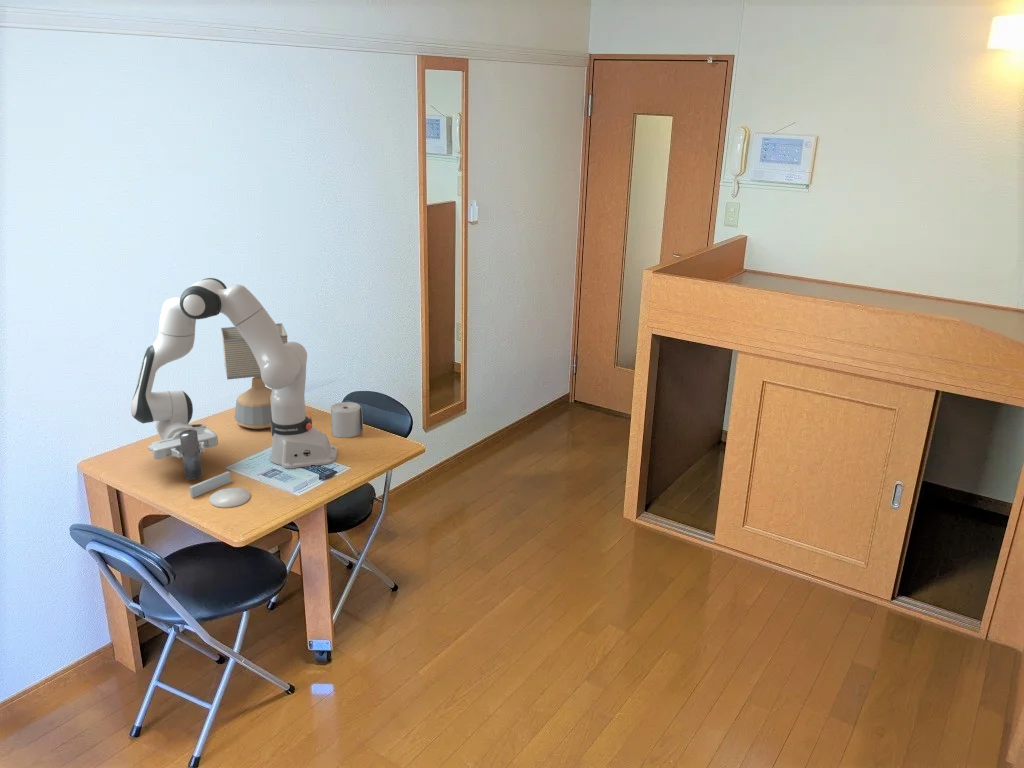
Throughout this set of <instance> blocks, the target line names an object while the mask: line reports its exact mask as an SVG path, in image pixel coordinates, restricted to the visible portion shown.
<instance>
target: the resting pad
mask: <svg viewBox="0 0 1024 768" xmlns="http://www.w3.org/2000/svg"><path fill="white" fill-rule="evenodd" d="M208 499H209V504H211V505H212V506H213V507H217V508H221V509H222V508H223V509H224V508H225V509H226V508H237V507H238V506H242V505H244V504H246V503H247V502H248V501H250V499H251V493H250V491H249V490H248V489H245V488H242V487H227V488H223V489H219V490H216V491H215V492H214V493H212V494H211V495H210V497H209V498H208Z"/></svg>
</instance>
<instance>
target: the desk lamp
mask: <svg viewBox="0 0 1024 768" xmlns="http://www.w3.org/2000/svg"><path fill="white" fill-rule="evenodd" d="M275 324H276V325H277V327H278V330H279V334H280V337H281V339H282V342H283V344H285V343H288V342H289V341H288V334H287V331H286V329H285V328H284V327H285V326H284V325H283V323H275ZM220 331H221V340H222V348H223V349H222V350H223V359H224V360H223V361H224V367H225V368H224V370H225V374H226V378H227V379H226V380H234V379H235V380H238V379H245V378H247V379H248V378H252V380H251V388H249V389H248V390H246V391H244V392H243V393H241V394H240V395H238V397H237V400H236V402H235V409H234V410H235V411H234V417H233V418H234V421H235V422H236V424H237V425H239V426H241V427H244V428H248V429H252V430H264V429H271V419H272V413H271V400H270V398H271V393H272V388H270V387H268V386H266V385H265V384H264V382H263V381H262V378H261V372H260V368H259V366H258V364H257V361H256V359H255V357H254V355H253V353H252V351H251V349H250V347H249V345H248V344H247V342H246V341H245V340H244V338H243V337H242V336H241V334H240V333H239V332H238V330H237V329H236V328H235V326H230V327H229V326H228V327H220Z"/></svg>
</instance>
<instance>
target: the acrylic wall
mask: <svg viewBox="0 0 1024 768" xmlns="http://www.w3.org/2000/svg"><path fill="white" fill-rule="evenodd" d="M229 483H232V479H231V471H225V472H223V473H221V474H218V475H215V476H213V477H211V478H208V479H206V480H203V481H201V482H198V483H196V484H193V485H191V486H189V493H190V494H189V495H190V498H191V499H192V498H196V497H198V496H200V495H203V494H206V493H209V492H211V491H213V490H215V489H217V488H221V487H222V486H225V485H227V484H229Z"/></svg>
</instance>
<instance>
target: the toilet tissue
mask: <svg viewBox="0 0 1024 768" xmlns="http://www.w3.org/2000/svg"><path fill="white" fill-rule="evenodd" d="M363 415H364V414H363V408H362V406H361V405H360V404H359V403H356V402H353V401H352V402H351V401H343V402H338V403H334V404H333V405H331V407H330V417H331V434H332V435H333V436H334V437H337V438H343V439H344V438H345V439H346V438H354V437H356V436H359V435H360V434H361V433H362V432H364V420H363V419H364V417H363Z"/></svg>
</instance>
